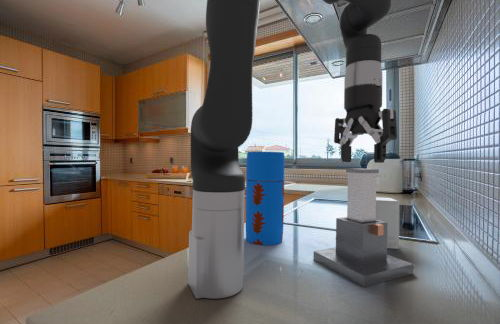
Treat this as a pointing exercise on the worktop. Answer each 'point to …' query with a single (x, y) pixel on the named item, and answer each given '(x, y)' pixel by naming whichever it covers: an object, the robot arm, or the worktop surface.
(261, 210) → the thermos
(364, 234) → the stand base
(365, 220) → the column
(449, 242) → the worktop surface
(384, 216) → the supplement box
